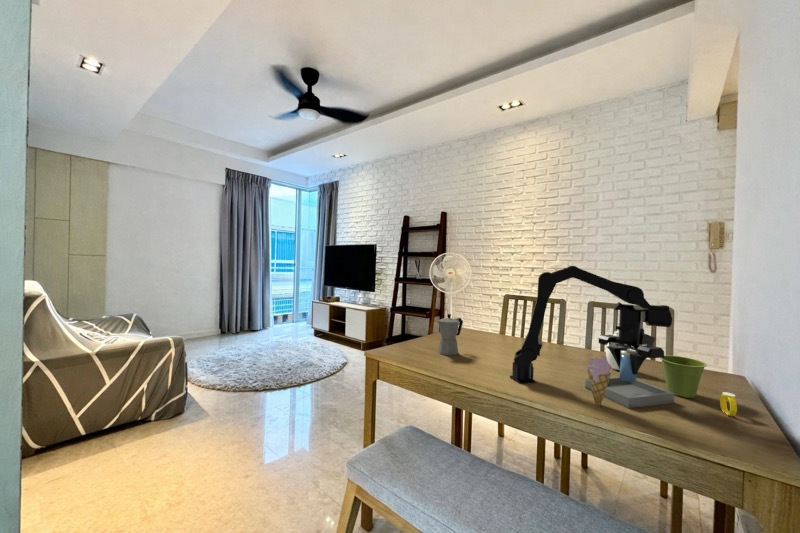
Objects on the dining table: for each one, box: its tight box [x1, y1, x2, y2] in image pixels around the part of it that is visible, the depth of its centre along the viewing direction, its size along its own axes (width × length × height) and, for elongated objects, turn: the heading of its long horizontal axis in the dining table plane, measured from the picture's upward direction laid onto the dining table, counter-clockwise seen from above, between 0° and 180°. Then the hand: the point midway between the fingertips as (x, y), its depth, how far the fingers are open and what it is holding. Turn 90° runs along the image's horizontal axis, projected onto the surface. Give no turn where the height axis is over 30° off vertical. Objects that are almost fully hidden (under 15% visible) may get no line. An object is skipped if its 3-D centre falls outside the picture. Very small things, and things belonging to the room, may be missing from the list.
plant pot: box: [659, 354, 708, 399], centre depth 110 cm, size 12×12×11 cm
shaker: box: [619, 349, 637, 382], centre depth 108 cm, size 4×4×9 cm
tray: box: [584, 375, 676, 409], centre depth 108 cm, size 18×16×3 cm
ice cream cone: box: [586, 355, 612, 407], centre depth 100 cm, size 7×6×15 cm
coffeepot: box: [437, 313, 464, 356], centre depth 153 cm, size 15×9×18 cm, turn 126°
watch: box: [719, 391, 738, 417], centre depth 96 cm, size 6×3×6 cm, turn 157°
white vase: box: [605, 324, 630, 371], centre depth 134 cm, size 8×8×18 cm
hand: (627, 371), depth 108 cm, fingers closed on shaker, 4 cm apart
